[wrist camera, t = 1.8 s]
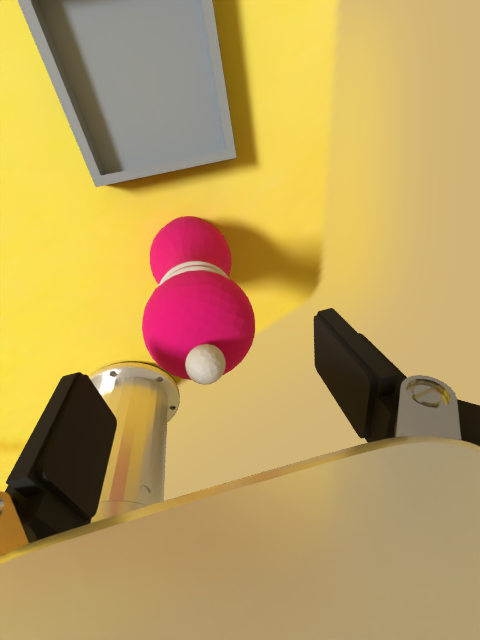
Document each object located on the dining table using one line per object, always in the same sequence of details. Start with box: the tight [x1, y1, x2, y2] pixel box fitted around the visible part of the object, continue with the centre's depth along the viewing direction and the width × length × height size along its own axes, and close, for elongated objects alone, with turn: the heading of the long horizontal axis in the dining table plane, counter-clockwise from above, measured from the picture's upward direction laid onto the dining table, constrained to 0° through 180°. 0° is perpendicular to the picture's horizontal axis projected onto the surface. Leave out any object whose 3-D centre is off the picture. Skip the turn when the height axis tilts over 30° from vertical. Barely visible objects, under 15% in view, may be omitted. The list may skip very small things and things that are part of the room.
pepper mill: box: [142, 216, 255, 384], centre depth 20 cm, size 7×7×20 cm
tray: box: [18, 0, 237, 187], centre depth 20 cm, size 12×12×2 cm
